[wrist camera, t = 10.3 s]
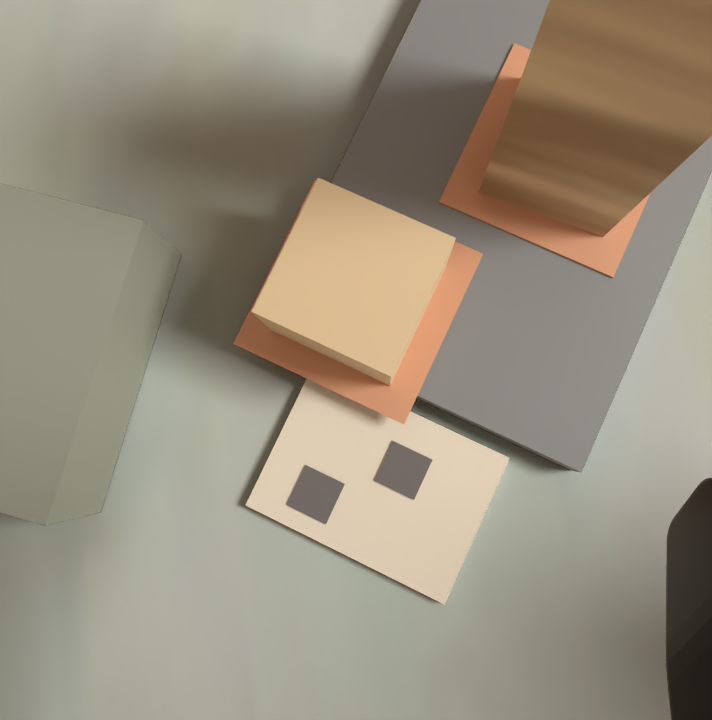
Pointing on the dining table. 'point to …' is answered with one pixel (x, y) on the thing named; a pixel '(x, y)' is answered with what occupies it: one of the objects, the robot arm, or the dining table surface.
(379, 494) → the card
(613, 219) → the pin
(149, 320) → the cover
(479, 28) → the board
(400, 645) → the dining table surface
